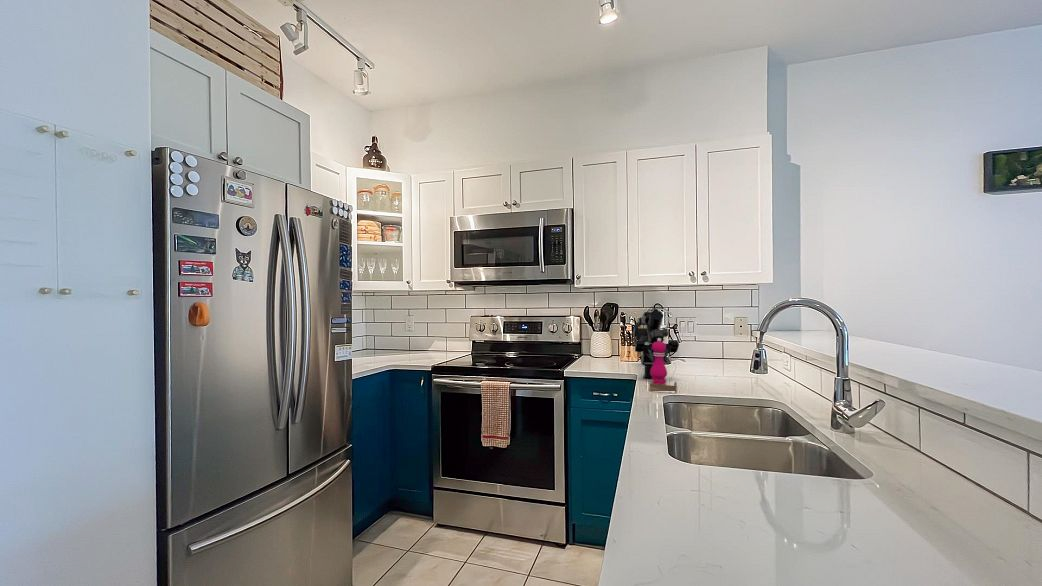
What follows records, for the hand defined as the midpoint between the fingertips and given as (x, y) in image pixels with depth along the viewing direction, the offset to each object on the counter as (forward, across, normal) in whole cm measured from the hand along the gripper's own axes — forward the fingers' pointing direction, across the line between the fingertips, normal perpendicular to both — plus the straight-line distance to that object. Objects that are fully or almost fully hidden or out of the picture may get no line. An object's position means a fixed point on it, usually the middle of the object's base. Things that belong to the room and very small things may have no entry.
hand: (659, 361), depth 193 cm
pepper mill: (+6, 0, +8) cm, 10 cm away
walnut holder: (+13, 0, +2) cm, 13 cm away
